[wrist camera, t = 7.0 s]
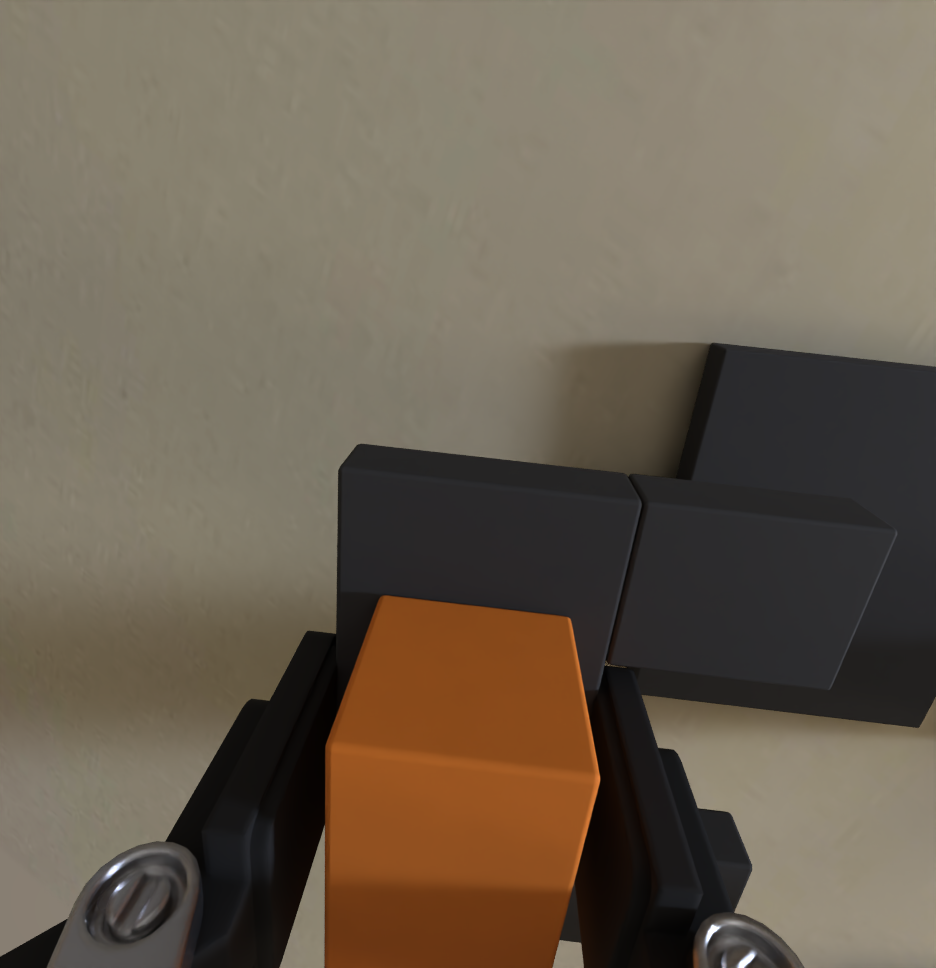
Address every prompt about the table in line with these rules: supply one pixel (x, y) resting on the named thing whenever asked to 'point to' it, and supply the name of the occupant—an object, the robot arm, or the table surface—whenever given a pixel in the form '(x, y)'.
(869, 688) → the charcoal pad
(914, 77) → the table surface
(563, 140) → the table surface
